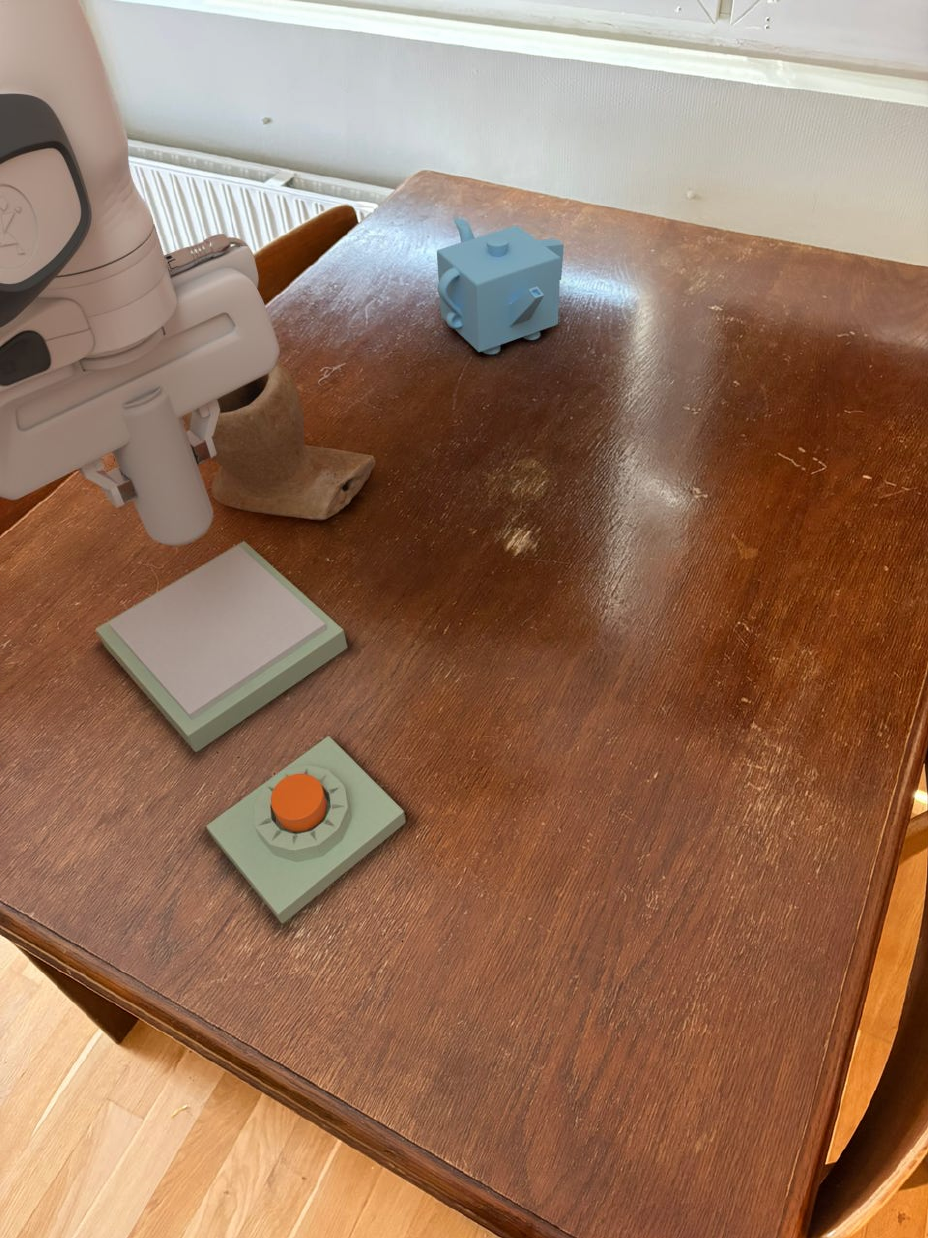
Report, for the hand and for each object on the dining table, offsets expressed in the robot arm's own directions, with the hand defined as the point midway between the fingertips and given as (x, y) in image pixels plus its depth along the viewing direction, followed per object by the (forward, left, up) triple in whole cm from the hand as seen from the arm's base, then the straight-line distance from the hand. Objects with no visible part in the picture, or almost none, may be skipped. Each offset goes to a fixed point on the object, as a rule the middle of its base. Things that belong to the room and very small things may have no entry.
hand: (162, 477), depth 61 cm
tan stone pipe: (+15, +14, -20) cm, 29 cm away
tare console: (-5, -17, -20) cm, 27 cm away
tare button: (-5, -17, -17) cm, 25 cm away
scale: (0, +2, -20) cm, 20 cm away
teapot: (+51, +21, -20) cm, 59 cm away
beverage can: (0, 0, -5) cm, 5 cm away
